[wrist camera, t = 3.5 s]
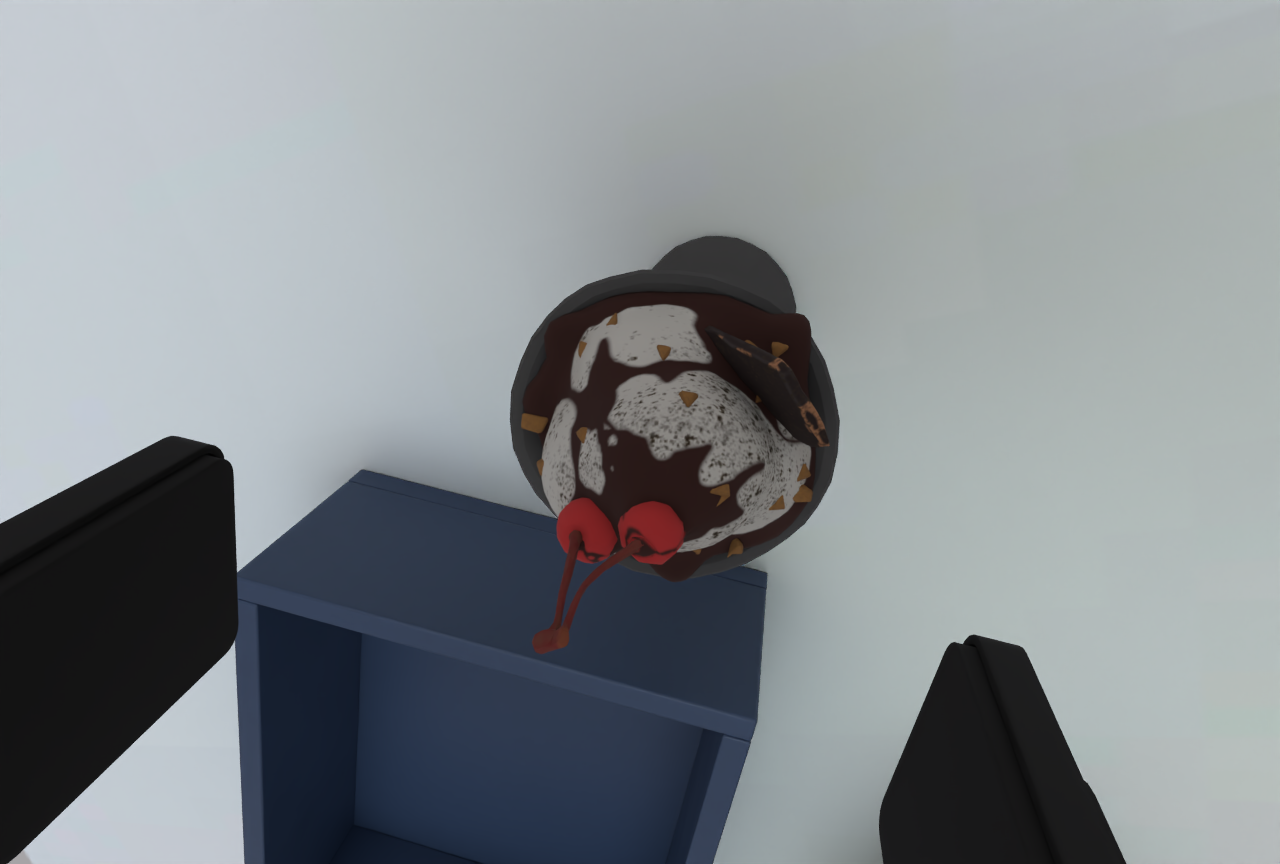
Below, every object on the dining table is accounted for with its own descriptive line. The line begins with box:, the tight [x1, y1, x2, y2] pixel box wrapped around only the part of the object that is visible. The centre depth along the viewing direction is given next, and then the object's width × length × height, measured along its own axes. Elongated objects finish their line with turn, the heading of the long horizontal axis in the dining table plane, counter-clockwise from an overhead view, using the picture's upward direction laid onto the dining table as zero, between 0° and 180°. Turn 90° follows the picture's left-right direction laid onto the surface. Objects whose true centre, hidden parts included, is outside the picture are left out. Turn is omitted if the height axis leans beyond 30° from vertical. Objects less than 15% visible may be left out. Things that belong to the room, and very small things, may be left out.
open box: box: [235, 470, 767, 864], centre depth 29 cm, size 19×16×8 cm
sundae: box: [510, 236, 840, 654], centre depth 18 cm, size 7×7×15 cm
